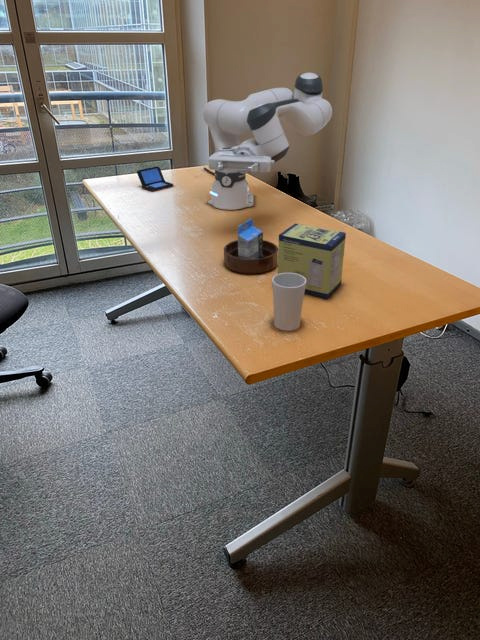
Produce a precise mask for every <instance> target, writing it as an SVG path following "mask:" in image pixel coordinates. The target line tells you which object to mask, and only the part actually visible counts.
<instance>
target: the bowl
mask: <svg viewBox="0 0 480 640" xmlns="http://www.w3.org/2000/svg"><path fill="white" fill-rule="evenodd" d="M223 265H224V266H226V267H227V268H228V269H229V270H231V271H234V272H237V273H240V274H249V275H254V274H261V273H265V272H268V271H270V270H272V269H274V268H276V266H277V267H278V246H277V244H275V243H274V242H271V241H269V240H266V239H263V257H262V258H259V259H244V258H239V257H238V239H236V240H233V241H230V242H228V243H227V244H225V246H224V247H223Z"/></svg>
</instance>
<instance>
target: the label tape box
mask: <svg viewBox="0 0 480 640" xmlns="http://www.w3.org/2000/svg"><path fill="white" fill-rule="evenodd" d="M237 240H238V257H239V258H244V259H259V258H262V257H263V240H264V232H263V231H262V230H260V229H259V228H258V227H256V226H254V217H252V218H250V219H248V220H246V221H245V222H243V223H241V224H240V225H238V226H237Z"/></svg>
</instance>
